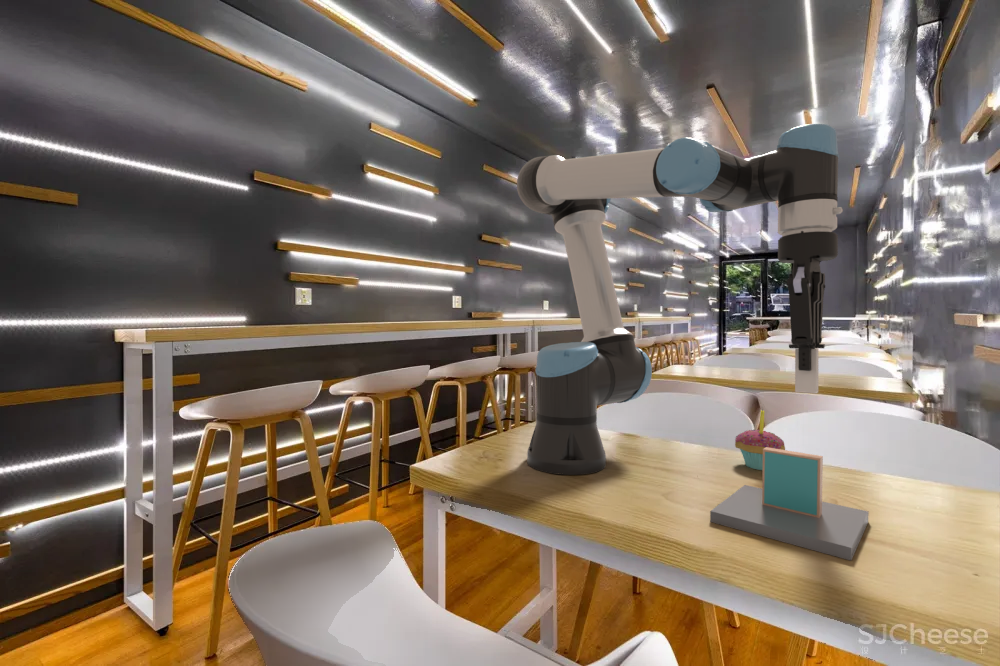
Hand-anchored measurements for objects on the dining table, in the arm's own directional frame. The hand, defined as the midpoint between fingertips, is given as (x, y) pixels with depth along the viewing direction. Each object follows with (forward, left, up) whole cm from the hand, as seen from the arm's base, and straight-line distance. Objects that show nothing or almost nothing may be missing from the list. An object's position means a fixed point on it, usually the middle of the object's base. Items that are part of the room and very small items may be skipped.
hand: (806, 392), depth 73 cm
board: (0, -8, -17) cm, 19 cm away
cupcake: (-11, +17, -18) cm, 27 cm away
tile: (0, -7, -16) cm, 17 cm away
